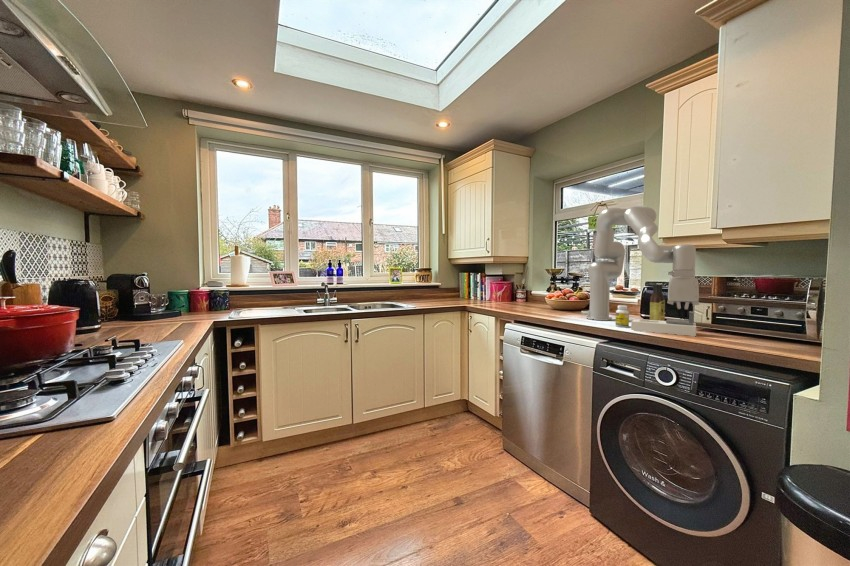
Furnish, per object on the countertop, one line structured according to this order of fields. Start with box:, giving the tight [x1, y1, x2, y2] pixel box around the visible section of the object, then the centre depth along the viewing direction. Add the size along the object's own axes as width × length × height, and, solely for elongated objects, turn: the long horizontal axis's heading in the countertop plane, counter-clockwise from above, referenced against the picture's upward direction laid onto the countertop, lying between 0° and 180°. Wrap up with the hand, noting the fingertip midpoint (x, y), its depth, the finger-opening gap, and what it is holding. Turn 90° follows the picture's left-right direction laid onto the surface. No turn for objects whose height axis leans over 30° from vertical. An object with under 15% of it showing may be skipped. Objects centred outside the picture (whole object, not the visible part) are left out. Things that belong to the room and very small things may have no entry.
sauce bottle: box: [649, 283, 666, 321], centre depth 171 cm, size 7×6×20 cm
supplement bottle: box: [615, 304, 630, 328], centre depth 160 cm, size 5×5×10 cm
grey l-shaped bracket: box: [665, 310, 694, 325], centre depth 142 cm, size 9×8×5 cm
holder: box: [630, 318, 697, 337], centre depth 146 cm, size 22×12×4 cm, turn 52°
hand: (682, 318), depth 142 cm, fingers closed
